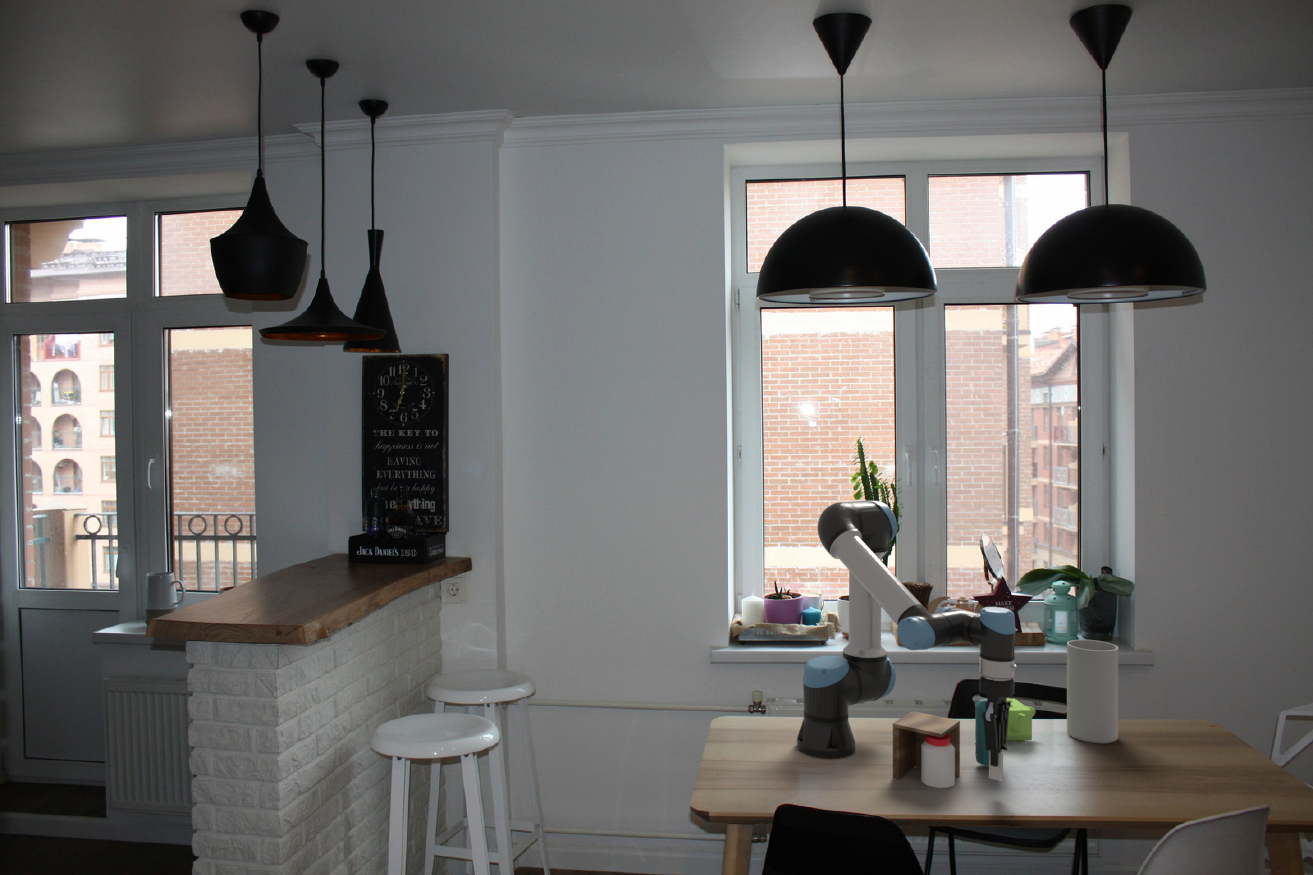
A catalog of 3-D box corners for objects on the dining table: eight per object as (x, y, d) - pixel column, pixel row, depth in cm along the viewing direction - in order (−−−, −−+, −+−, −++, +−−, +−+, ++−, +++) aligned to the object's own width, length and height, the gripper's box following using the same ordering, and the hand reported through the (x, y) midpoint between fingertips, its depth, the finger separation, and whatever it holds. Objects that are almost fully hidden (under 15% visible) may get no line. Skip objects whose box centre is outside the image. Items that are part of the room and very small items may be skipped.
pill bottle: (916, 775, 216) (916, 730, 216) (947, 774, 216) (947, 729, 216) (927, 788, 208) (927, 741, 208) (960, 787, 208) (960, 741, 208)
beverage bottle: (1005, 773, 217) (1005, 692, 216) (976, 771, 218) (976, 690, 218) (1000, 763, 223) (1000, 684, 223) (972, 762, 224) (972, 683, 224)
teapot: (1024, 751, 232) (1024, 710, 232) (973, 740, 240) (973, 701, 240) (1041, 735, 244) (1041, 696, 244) (991, 725, 252) (991, 688, 252)
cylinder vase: (1060, 727, 250) (1061, 639, 249) (1108, 729, 248) (1108, 640, 248) (1075, 743, 237) (1075, 650, 237) (1125, 745, 236) (1125, 651, 235)
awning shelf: (892, 778, 214) (892, 723, 214) (912, 763, 223) (912, 711, 223) (941, 791, 207) (941, 734, 206) (959, 775, 216) (959, 720, 216)
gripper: (1004, 686, 196) (1003, 792, 196) (1022, 673, 206) (1021, 773, 207) (970, 679, 201) (969, 783, 201) (989, 667, 211) (988, 765, 211)
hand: (995, 778), depth 204 cm, fingers closed
